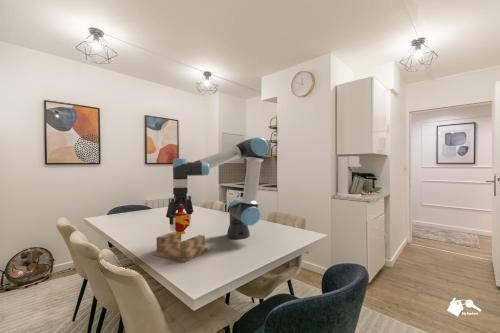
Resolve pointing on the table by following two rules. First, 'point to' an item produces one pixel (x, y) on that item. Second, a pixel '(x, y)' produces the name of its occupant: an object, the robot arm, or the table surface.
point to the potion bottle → (181, 220)
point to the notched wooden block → (180, 247)
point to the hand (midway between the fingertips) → (180, 228)
